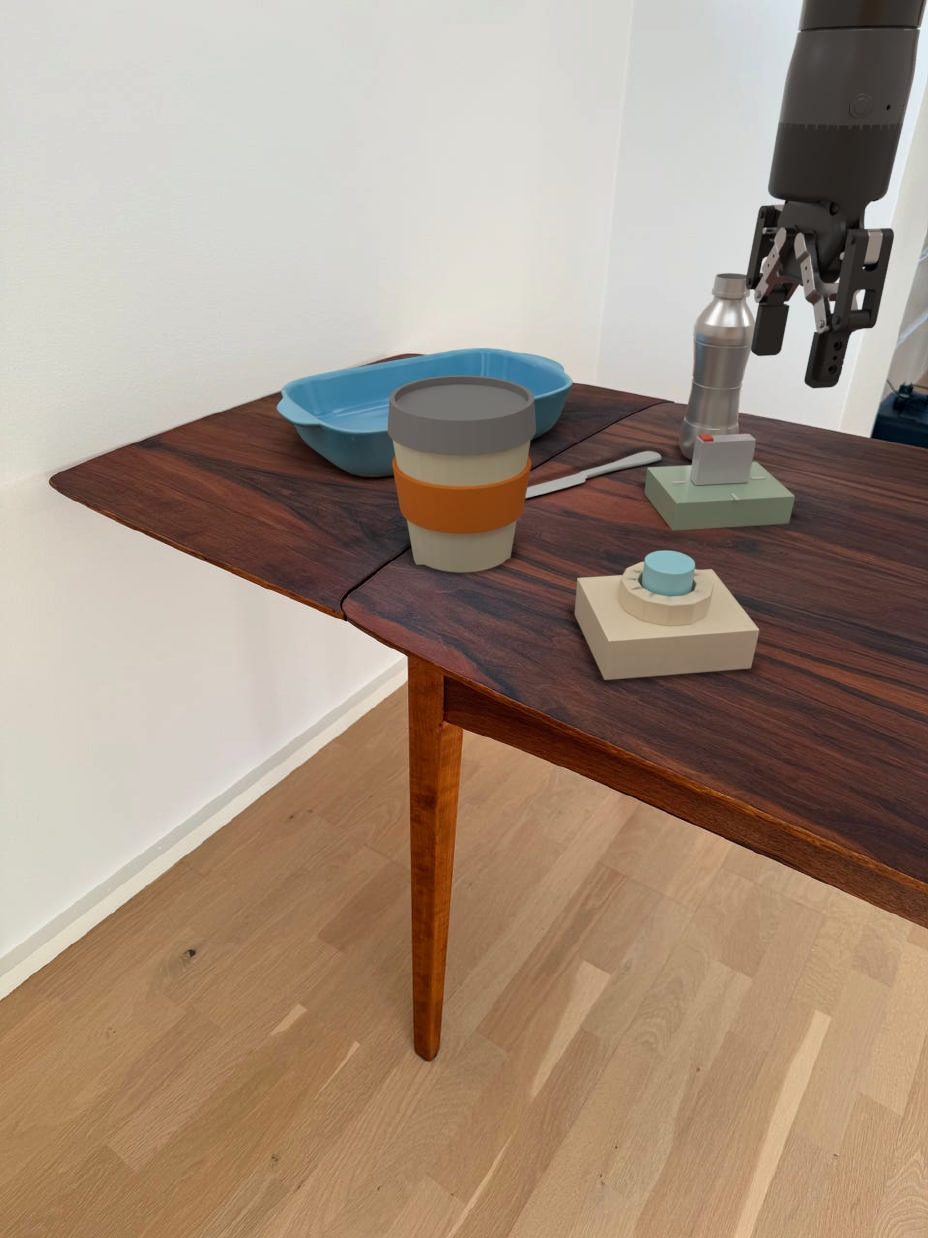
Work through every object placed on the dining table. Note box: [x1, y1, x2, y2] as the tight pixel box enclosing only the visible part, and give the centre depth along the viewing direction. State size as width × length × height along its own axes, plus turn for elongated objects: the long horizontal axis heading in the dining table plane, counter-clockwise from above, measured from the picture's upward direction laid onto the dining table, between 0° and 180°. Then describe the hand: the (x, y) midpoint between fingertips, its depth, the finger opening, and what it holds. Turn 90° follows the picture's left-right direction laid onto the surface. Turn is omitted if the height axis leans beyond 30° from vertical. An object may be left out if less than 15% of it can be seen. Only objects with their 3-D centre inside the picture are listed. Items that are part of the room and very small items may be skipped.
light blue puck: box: [642, 549, 696, 597], centre depth 62 cm, size 4×4×2 cm
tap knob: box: [690, 433, 757, 485], centre depth 84 cm, size 6×2×5 cm, turn 97°
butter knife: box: [525, 450, 663, 499], centre depth 93 cm, size 1×24×3 cm
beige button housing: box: [574, 561, 760, 681], centre depth 64 cm, size 11×9×6 cm
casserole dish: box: [276, 347, 574, 478], centre depth 102 cm, size 37×22×7 cm, turn 123°
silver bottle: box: [678, 272, 756, 461], centre depth 93 cm, size 6×7×20 cm
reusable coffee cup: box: [388, 375, 536, 573], centre depth 74 cm, size 13×12×15 cm
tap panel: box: [644, 461, 796, 532], centre depth 86 cm, size 12×10×3 cm
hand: (790, 369), depth 63 cm, fingers open, 8 cm apart
